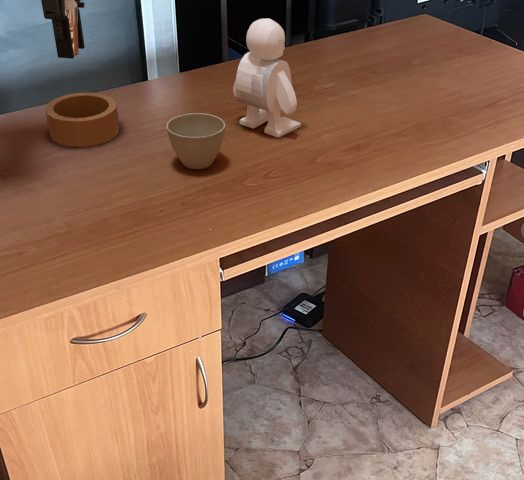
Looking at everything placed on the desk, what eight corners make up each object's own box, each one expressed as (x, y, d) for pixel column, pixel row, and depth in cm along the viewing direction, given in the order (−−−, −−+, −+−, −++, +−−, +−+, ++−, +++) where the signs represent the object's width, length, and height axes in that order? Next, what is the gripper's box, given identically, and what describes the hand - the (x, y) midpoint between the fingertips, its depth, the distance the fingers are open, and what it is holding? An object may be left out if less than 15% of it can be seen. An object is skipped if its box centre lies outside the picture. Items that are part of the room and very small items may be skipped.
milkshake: (90, 51, 138) (84, -10, 132) (72, 59, 134) (64, -4, 128) (69, 47, 140) (62, -13, 134) (50, 55, 136) (42, -7, 130)
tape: (39, 143, 144) (34, 117, 141) (65, 115, 154) (61, 90, 150) (105, 150, 142) (102, 123, 139) (128, 120, 152) (125, 95, 149)
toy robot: (309, 128, 149) (313, 20, 136) (280, 145, 144) (282, 33, 131) (252, 109, 156) (252, 4, 143) (223, 124, 151) (219, 16, 138)
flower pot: (225, 176, 135) (224, 137, 130) (167, 176, 135) (164, 137, 130) (226, 150, 142) (225, 112, 138) (171, 150, 142) (168, 112, 138)
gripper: (49, -87, 115) (73, 72, 130) (91, -110, 128) (108, 37, 143) (1, -89, 116) (30, 68, 131) (47, -112, 129) (69, 34, 144)
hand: (71, 52), depth 137 cm, fingers closed on milkshake, 4 cm apart
